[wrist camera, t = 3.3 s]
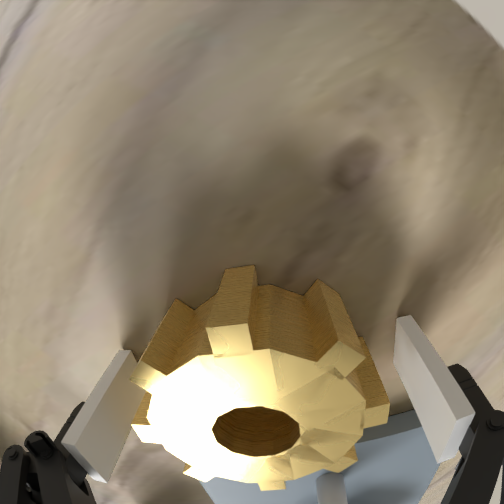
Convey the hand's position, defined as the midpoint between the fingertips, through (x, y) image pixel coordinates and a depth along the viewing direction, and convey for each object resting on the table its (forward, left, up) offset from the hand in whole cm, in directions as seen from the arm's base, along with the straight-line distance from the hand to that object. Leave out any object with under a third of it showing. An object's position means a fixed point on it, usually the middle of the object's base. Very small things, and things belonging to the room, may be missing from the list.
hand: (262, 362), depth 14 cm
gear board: (+3, -16, 0) cm, 16 cm away
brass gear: (0, 0, 0) cm, 0 cm away
